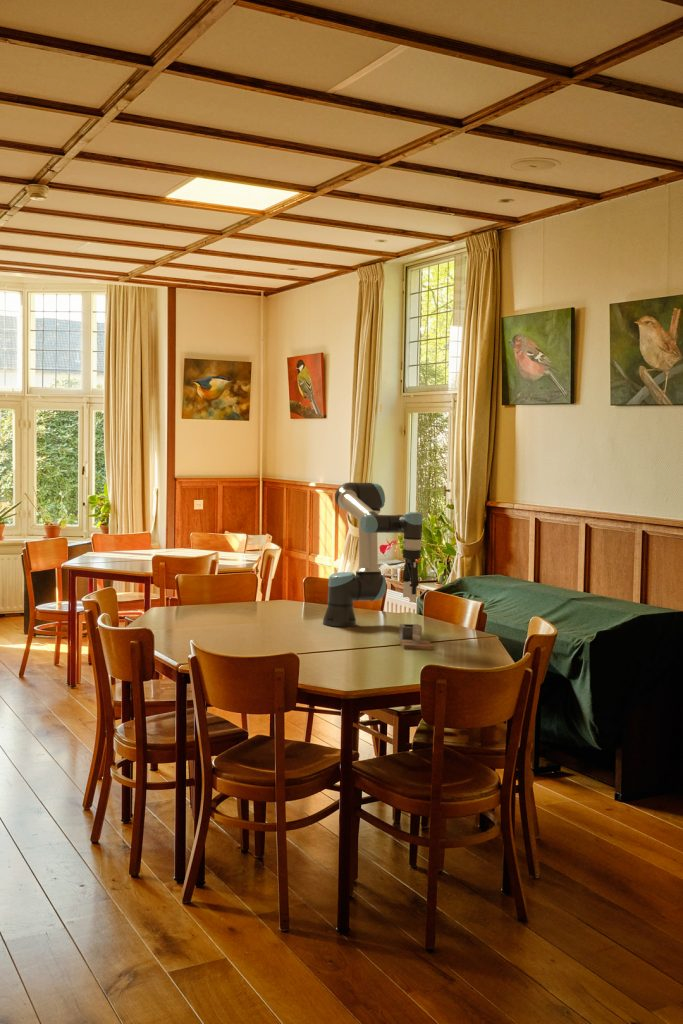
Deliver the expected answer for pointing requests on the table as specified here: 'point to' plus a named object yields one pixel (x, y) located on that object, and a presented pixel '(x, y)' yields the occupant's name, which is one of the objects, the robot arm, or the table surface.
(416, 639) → the post block
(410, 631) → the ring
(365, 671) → the table surface
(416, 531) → the robot arm
